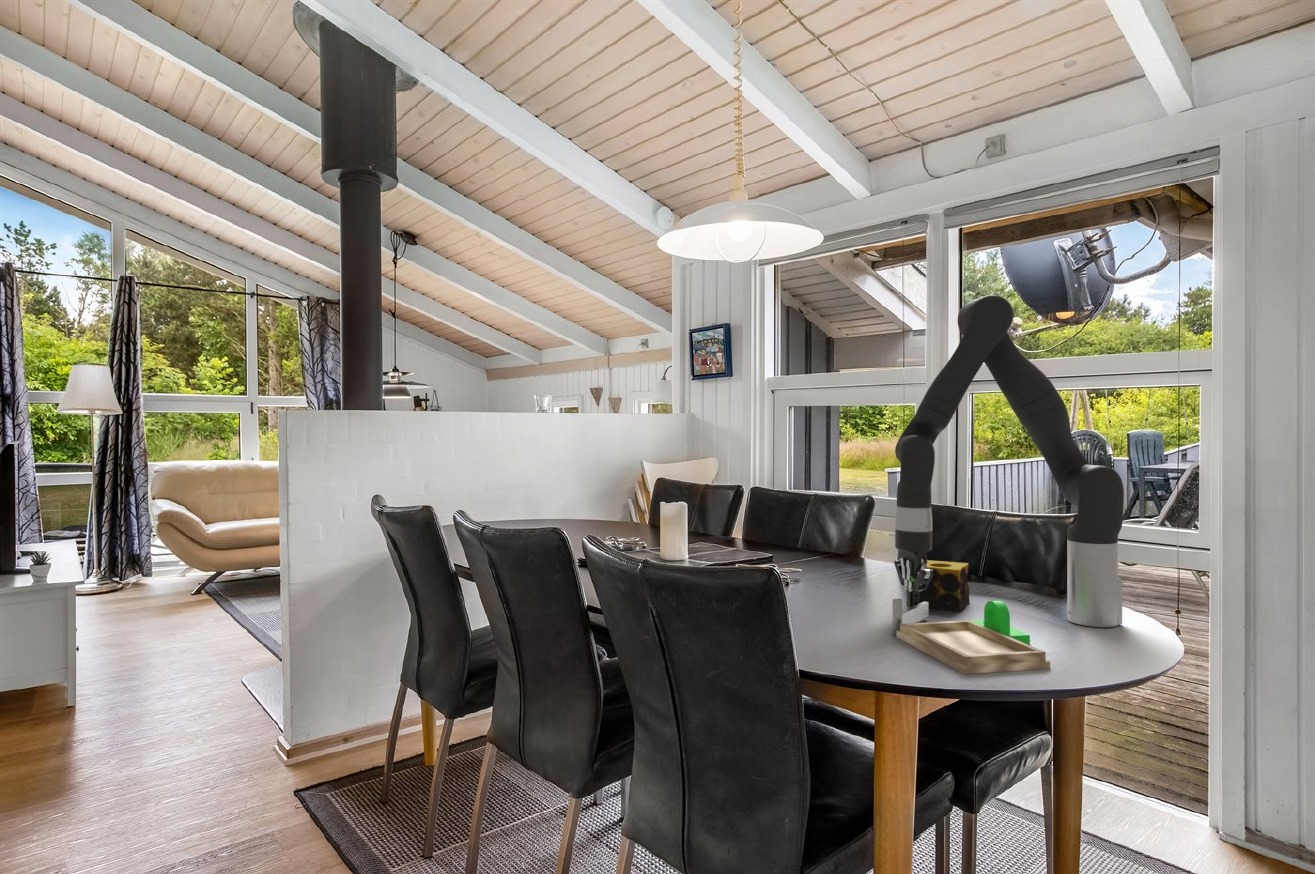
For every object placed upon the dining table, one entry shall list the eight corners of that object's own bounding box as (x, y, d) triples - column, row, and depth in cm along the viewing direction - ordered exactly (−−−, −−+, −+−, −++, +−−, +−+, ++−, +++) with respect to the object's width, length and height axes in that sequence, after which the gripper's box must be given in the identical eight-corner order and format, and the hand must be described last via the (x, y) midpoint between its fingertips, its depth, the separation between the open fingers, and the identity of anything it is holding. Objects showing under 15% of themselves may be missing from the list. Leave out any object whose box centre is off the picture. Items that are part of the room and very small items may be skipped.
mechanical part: (1029, 645, 141) (1029, 603, 141) (1000, 646, 140) (999, 604, 140) (994, 629, 153) (994, 590, 153) (967, 630, 152) (966, 591, 152)
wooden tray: (970, 632, 149) (970, 619, 149) (1050, 668, 126) (1050, 652, 126) (896, 637, 146) (896, 623, 146) (964, 674, 124) (964, 657, 124)
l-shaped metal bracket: (922, 619, 160) (921, 587, 160) (930, 621, 159) (930, 588, 159) (891, 634, 148) (891, 599, 148) (899, 636, 147) (899, 601, 147)
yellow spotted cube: (970, 605, 173) (970, 563, 173) (961, 614, 165) (961, 569, 164) (924, 600, 179) (924, 559, 178) (914, 609, 170) (914, 565, 170)
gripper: (946, 531, 153) (945, 615, 153) (914, 523, 166) (913, 600, 166) (912, 532, 152) (912, 616, 152) (882, 524, 165) (882, 601, 165)
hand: (912, 608), depth 159 cm, fingers closed
